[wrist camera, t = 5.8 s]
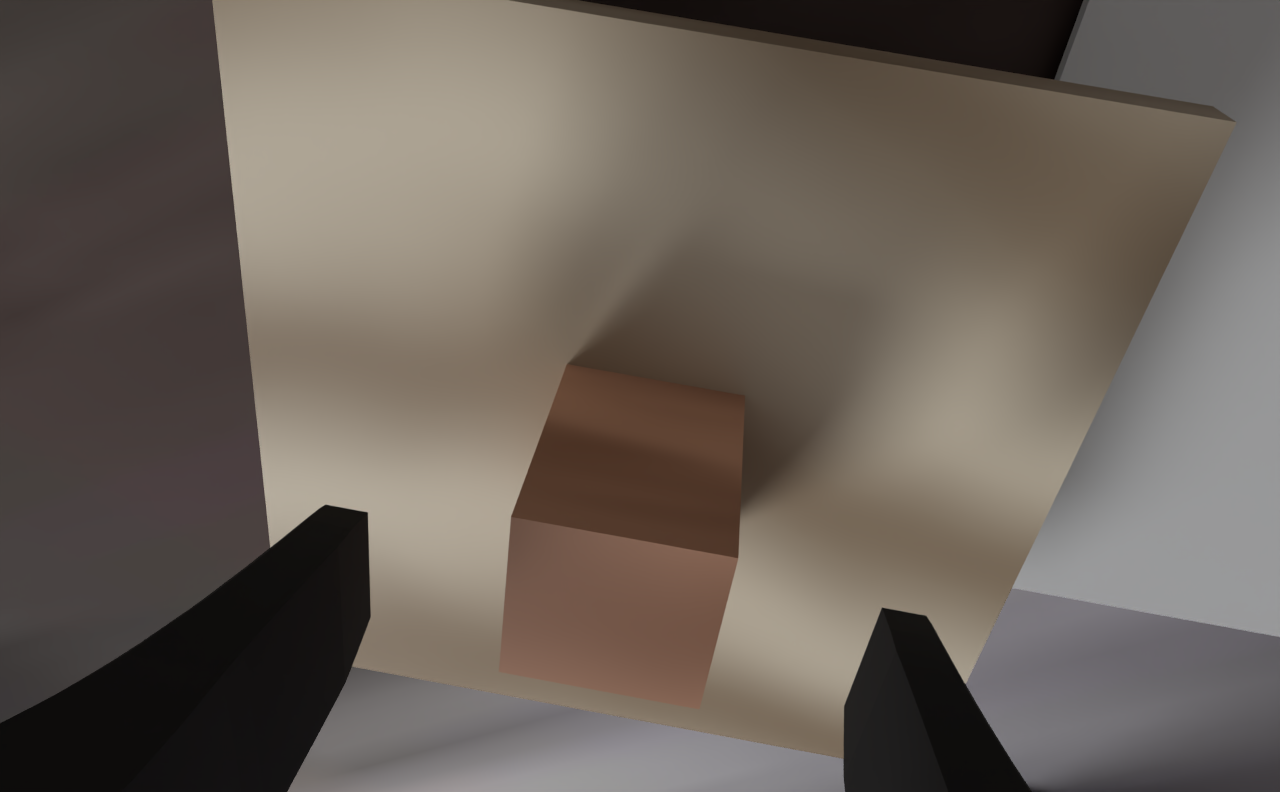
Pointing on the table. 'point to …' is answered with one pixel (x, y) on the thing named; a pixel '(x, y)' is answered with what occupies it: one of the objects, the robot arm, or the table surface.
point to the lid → (678, 335)
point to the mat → (1187, 346)
